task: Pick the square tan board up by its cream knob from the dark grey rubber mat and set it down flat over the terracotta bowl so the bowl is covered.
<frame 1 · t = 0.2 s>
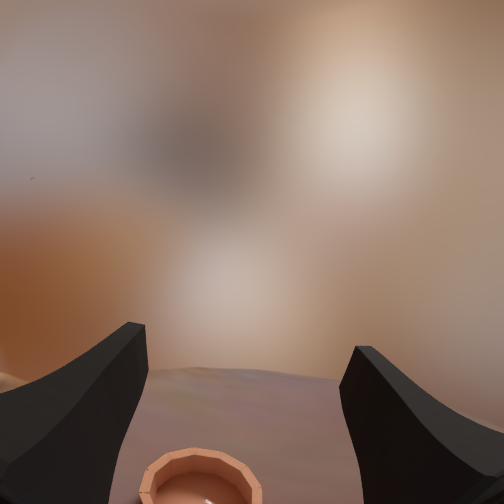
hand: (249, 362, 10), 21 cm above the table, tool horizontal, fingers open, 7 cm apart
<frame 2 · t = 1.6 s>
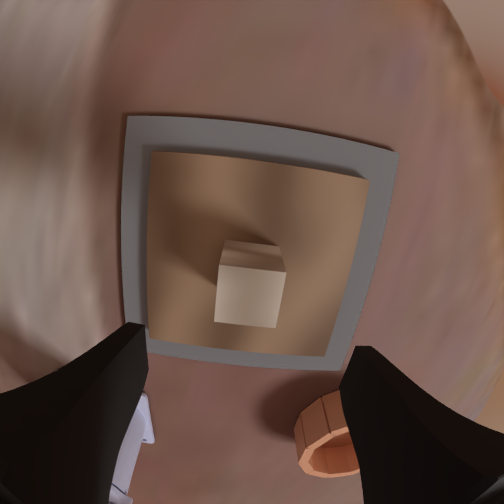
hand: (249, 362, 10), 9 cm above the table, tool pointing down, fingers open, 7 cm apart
mat: (248, 259, 18), on the table
square tan board: (248, 262, 18), resting on mat
bowl: (345, 420, 24), on the table
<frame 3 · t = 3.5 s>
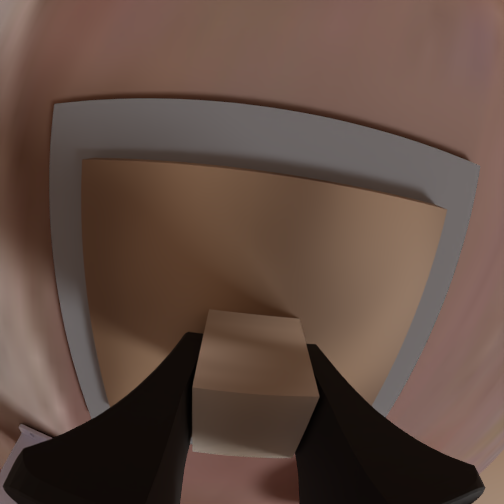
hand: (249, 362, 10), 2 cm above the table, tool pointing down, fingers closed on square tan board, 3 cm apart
mat: (249, 329, 12), on the table
square tan board: (249, 336, 11), resting on mat, touching gripper
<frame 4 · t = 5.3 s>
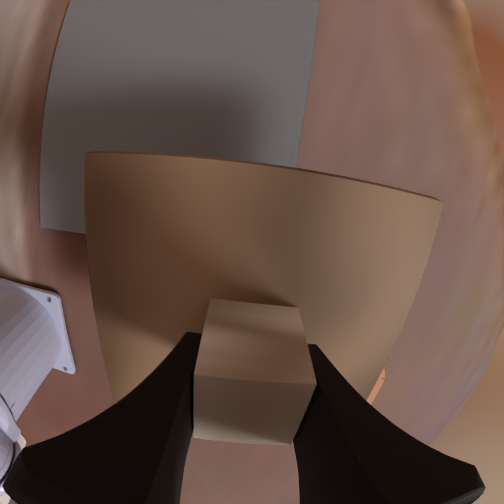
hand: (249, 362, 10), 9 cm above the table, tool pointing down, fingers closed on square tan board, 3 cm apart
mat: (158, 105, 15), on the table
square tan board: (249, 325, 11), point 7 cm above the table, touching gripper
foam cup: (10, 430, 28), on the table
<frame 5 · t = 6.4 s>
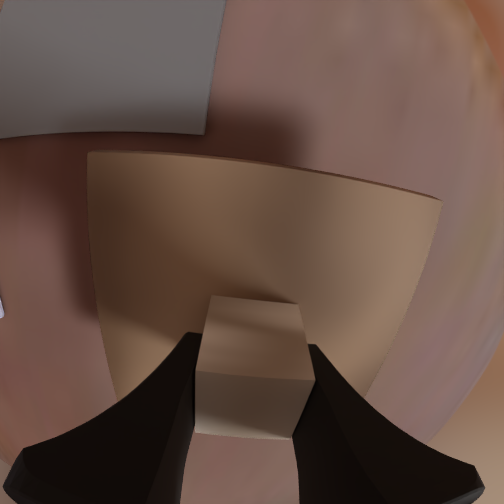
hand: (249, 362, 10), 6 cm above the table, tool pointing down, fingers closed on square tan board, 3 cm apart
mat: (88, 2, 10), on the table
square tan board: (249, 321, 12), point 4 cm above the table, touching gripper
when the fingers open (6 cm above the table, at t = 7.0 s): square tan board stays where it is, resting on bowl.
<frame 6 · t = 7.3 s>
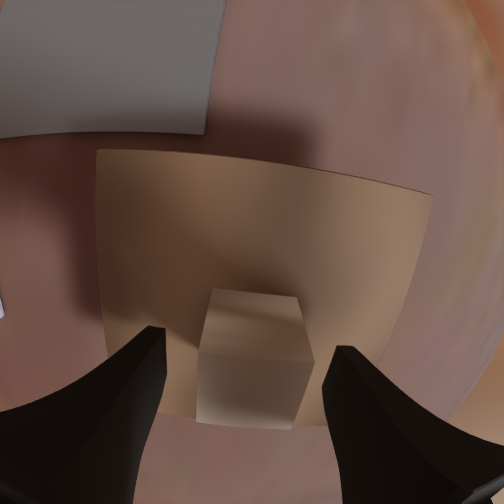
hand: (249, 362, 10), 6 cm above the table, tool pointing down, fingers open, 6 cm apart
mat: (87, 2, 10), on the table
square tan board: (249, 316, 12), point 4 cm above the table, touching bowl
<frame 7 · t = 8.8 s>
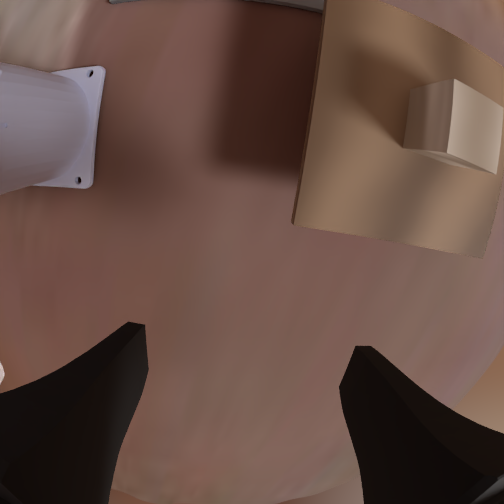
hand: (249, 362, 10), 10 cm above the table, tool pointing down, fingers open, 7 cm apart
square tan board: (423, 127, 12), point 4 cm above the table, touching bowl
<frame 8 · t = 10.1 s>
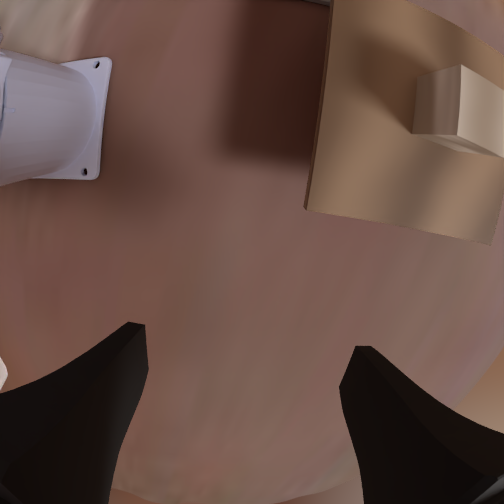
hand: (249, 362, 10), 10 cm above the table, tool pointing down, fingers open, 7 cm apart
square tan board: (430, 115, 12), point 4 cm above the table, touching bowl
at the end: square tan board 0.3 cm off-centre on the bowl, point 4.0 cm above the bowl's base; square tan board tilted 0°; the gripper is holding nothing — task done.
